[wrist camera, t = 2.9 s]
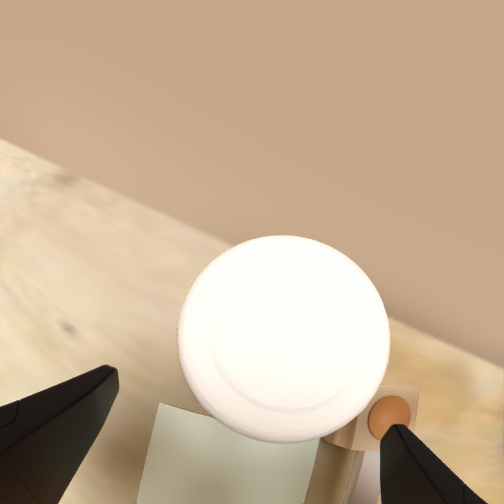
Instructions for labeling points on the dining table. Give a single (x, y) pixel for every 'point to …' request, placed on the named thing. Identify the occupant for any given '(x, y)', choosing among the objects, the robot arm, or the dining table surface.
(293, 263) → the sprinkles bottle
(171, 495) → the pad
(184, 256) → the dining table surface
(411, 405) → the handrail
